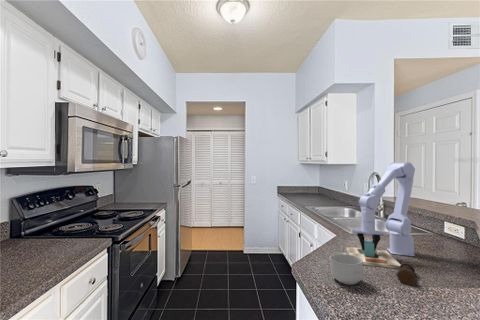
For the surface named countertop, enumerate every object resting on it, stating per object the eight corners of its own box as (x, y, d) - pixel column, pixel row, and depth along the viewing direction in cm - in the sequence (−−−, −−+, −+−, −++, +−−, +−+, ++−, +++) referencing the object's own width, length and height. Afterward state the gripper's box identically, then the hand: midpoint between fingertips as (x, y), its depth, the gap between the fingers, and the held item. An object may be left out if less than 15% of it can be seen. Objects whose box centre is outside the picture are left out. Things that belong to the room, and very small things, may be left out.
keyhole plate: (386, 253, 115) (386, 247, 115) (402, 269, 96) (402, 262, 96) (346, 249, 120) (346, 244, 120) (353, 263, 101) (353, 257, 101)
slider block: (371, 253, 114) (371, 240, 115) (374, 256, 110) (374, 243, 110) (362, 252, 116) (362, 239, 116) (364, 255, 111) (364, 242, 111)
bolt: (409, 276, 94) (408, 289, 82) (396, 266, 97) (393, 278, 85) (418, 264, 93) (419, 276, 81) (404, 255, 96) (403, 265, 83)
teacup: (361, 291, 77) (361, 266, 78) (326, 282, 83) (326, 259, 83) (365, 275, 89) (364, 254, 89) (334, 269, 95) (334, 248, 95)
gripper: (382, 220, 115) (383, 249, 114) (350, 218, 119) (350, 246, 118) (387, 223, 108) (388, 254, 107) (352, 221, 112) (352, 250, 111)
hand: (368, 250), depth 112 cm, fingers closed on slider block, 4 cm apart
